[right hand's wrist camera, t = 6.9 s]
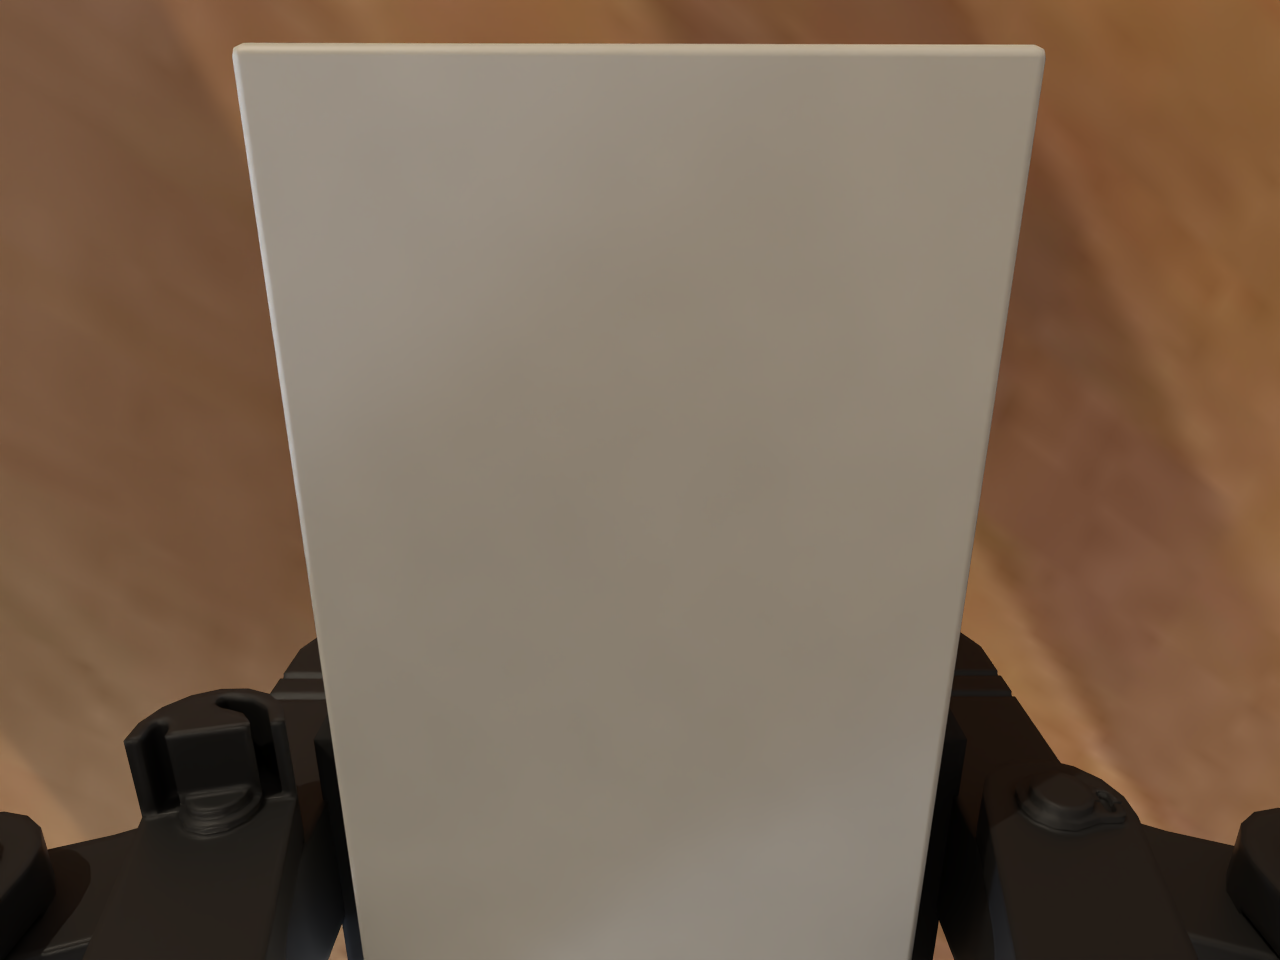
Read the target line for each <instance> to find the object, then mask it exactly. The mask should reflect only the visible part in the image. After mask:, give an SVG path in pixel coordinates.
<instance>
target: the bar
mask: <svg viewBox="0 0 1280 960" xmlns="http://www.w3.org/2000/svg"><path fill="white" fill-rule="evenodd" d="M232 57H233V64H234V71H235V78H236V85H237V92H238V99H239V105H240V112H241V119H242V126H243V133H244V140H245V147H246V154H247V160H248V167H249V174H250V181H251V188H252V195H253V202H254V208H255V215H256V222H257V229H258V236H259V243H260V250H261V256H262V263H263V270H264V277H265V284H266V291H267V298H268V305H269V311H270V318H271V325H272V332H273V339H274V346H275V353H276V359H277V366H278V373H279V380H280V387H281V394H282V401H283V407H284V414H285V421H286V428H287V435H288V442H289V449H290V456H291V462H292V469H293V476H294V483H295V490H296V497H297V504H298V510H299V517H300V524H301V531H302V538H303V545H304V552H305V558H306V565H307V572H308V579H309V586H310V593H311V600H312V607H313V613H314V620H315V627H316V634H317V641H318V648H319V655H320V661H321V668H322V675H323V682H324V689H325V696H326V703H327V709H328V716H329V723H330V730H331V737H332V744H333V751H334V757H335V764H336V771H337V778H338V785H339V792H340V799H341V806H342V812H343V819H344V826H345V833H346V840H347V847H348V854H349V860H350V867H351V874H352V881H353V888H354V895H355V902H356V908H357V915H358V922H359V929H360V936H361V943H362V950H363V957H364V960H911V959H912V952H913V946H914V939H915V932H916V925H917V919H918V912H919V905H920V899H921V892H922V885H923V878H924V872H925V865H926V858H927V851H928V845H929V838H930V831H931V825H932V818H933V811H934V804H935V798H936V791H937V784H938V778H939V771H940V764H941V757H942V751H943V744H944V737H945V731H946V724H947V717H948V710H949V704H950V697H951V690H952V683H953V677H954V670H955V663H956V657H957V650H958V643H959V636H960V630H961V623H962V616H963V610H964V603H965V596H966V589H967V583H968V576H969V569H970V563H971V556H972V549H973V542H974V536H975V529H976V522H977V515H978V509H979V502H980V495H981V489H982V482H983V475H984V468H985V462H986V455H987V448H988V442H989V435H990V428H991V421H992V415H993V408H994V401H995V395H996V388H997V381H998V374H999V368H1000V361H1001V354H1002V347H1003V341H1004V334H1005V327H1006V321H1007V314H1008V307H1009V300H1010V294H1011V287H1012V280H1013V274H1014V267H1015V260H1016V253H1017V247H1018V240H1019V233H1020V227H1021V220H1022V213H1023V206H1024V200H1025V193H1026V186H1027V179H1028V173H1029V166H1030V159H1031V153H1032V146H1033V139H1034V132H1035V126H1036V119H1037V112H1038V106H1039V99H1040V92H1041V85H1042V79H1043V72H1044V65H1045V59H1046V57H1045V50H1044V49H1042V48H1040V47H1038V46H1036V45H956V44H517V43H242V44H240V45H238V46H236V47H234V48H233V55H232Z"/></svg>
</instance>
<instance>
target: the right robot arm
mask: <svg viewBox="0 0 1280 960" xmlns="http://www.w3.org/2000/svg"><path fill="white" fill-rule="evenodd" d="M124 745H125V749H126V753H127V757H128V761H129V765H130V769H131V773H132V777H133V781H134V785H135V789H136V793H137V797H138V801H139V805H140V809H141V813H142V820H141V822H140V824H139V827H138V828H136V829H133V830H129V831H126V832H123V833H119V834H116V835H111V836H107V837H102V838H98V839H93V840H89V841H84V842H80V843H75V844H71V845H66V846H62V847H57V848H53V849H48V850H47V847H46V843H45V840H44V837H43V833H42V830H41V827H40V826H38V825H37V824H36V823H35V822H34V821H33V820H32V819H31V818H30V817H28V816H26V815H20V814H14V813H9V812H0V960H328V958H329V956H330V953H331V951H332V948H333V945H334V943H335V940H336V938H337V935H338V932H339V930H340V927H341V925H343V931H344V938H345V944H346V950H347V957H348V960H364V957H363V950H362V943H361V936H360V929H359V922H358V915H357V908H356V902H355V895H354V888H353V881H352V874H351V867H350V860H349V854H348V847H347V840H346V833H345V826H344V819H343V812H342V806H341V799H340V792H339V785H338V778H337V771H336V764H335V757H334V751H333V744H332V737H331V730H330V723H329V716H328V709H327V703H326V696H325V689H324V682H323V675H322V668H321V661H320V655H319V648H318V641H317V638H316V639H314V640H313V641H311V642H310V643H309V644H307V645H306V646H304V647H303V648H301V649H300V651H299V652H298V653H297V655H296V656H295V658H294V659H293V661H292V662H291V664H290V665H289V667H288V668H287V670H286V671H285V673H284V678H283V679H280V680H279V681H278V683H277V684H276V686H275V687H274V689H273V690H272V692H271V693H270V694H267V693H264V692H260V691H256V690H252V689H219V690H214V691H210V692H205V693H200V694H196V695H191V696H189V697H186V698H184V699H181V700H179V701H176V702H174V703H172V704H169V705H167V706H164V707H162V708H161V709H159V710H158V711H156V712H155V713H153V714H152V715H150V716H149V717H147V718H146V719H144V720H143V721H141V722H140V723H138V724H137V726H136V727H135V728H134V729H133V730H132V732H131V733H130V734H129V735H128V736H127V738H126V739H125V740H124ZM939 921H940V924H941V926H942V929H943V932H944V934H945V937H946V939H947V942H948V945H949V947H950V950H951V952H952V955H953V957H954V960H1280V808H1275V809H1269V810H1263V811H1257V812H1254V813H1253V814H1252V815H1250V816H1249V817H1248V818H1247V819H1246V820H1245V821H1244V822H1243V823H1241V826H1240V829H1239V833H1238V836H1237V839H1236V843H1235V846H1232V845H1227V844H1223V843H1218V842H1214V841H1209V840H1205V839H1200V838H1195V837H1191V836H1186V835H1182V834H1177V833H1173V832H1168V831H1164V830H1161V829H1158V828H1154V827H1151V826H1147V825H1144V824H1141V823H1140V820H1139V818H1138V816H1137V814H1136V813H1135V812H1134V810H1133V809H1132V807H1131V806H1130V805H1129V803H1128V802H1127V800H1126V799H1125V798H1124V796H1122V795H1121V794H1120V793H1119V792H1117V791H1116V790H1115V789H1113V788H1112V787H1111V786H1109V785H1108V784H1107V783H1106V782H1104V781H1103V780H1102V779H1100V778H1098V777H1095V776H1093V775H1091V774H1089V773H1087V772H1085V771H1083V770H1080V769H1078V768H1076V767H1074V766H1070V765H1066V764H1062V763H1060V761H1059V760H1058V759H1057V757H1056V756H1055V754H1054V753H1053V751H1052V750H1051V748H1050V747H1049V745H1048V744H1047V742H1046V741H1045V740H1044V738H1043V737H1042V735H1041V734H1040V732H1039V731H1038V729H1037V728H1036V726H1035V725H1034V723H1033V722H1032V721H1031V719H1030V718H1029V716H1028V715H1027V713H1026V712H1025V710H1024V709H1023V707H1022V706H1021V704H1020V703H1019V702H1018V700H1017V699H1016V697H1015V696H1012V695H1011V690H1010V688H1009V687H1008V686H1007V684H1006V683H1005V681H1004V680H1003V678H1002V677H1001V676H998V674H997V669H996V668H995V667H994V665H993V664H992V662H991V661H990V659H989V658H988V656H987V655H986V653H985V652H984V650H983V649H982V648H981V646H979V645H978V644H977V643H975V642H974V641H972V640H971V639H969V638H968V637H967V636H965V635H964V634H962V633H961V632H960V636H959V643H958V650H957V657H956V663H955V670H954V677H953V683H952V690H951V697H950V704H949V710H948V717H947V724H946V731H945V737H944V744H943V751H942V757H941V764H940V771H939V778H938V784H937V791H936V798H935V804H934V811H933V818H932V825H931V831H930V838H929V845H928V851H927V858H926V865H925V872H924V878H923V885H922V892H921V899H920V905H919V912H918V919H917V925H916V932H915V939H914V946H913V952H912V959H911V960H933V954H934V948H935V942H936V935H937V929H938V922H939Z"/></svg>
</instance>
